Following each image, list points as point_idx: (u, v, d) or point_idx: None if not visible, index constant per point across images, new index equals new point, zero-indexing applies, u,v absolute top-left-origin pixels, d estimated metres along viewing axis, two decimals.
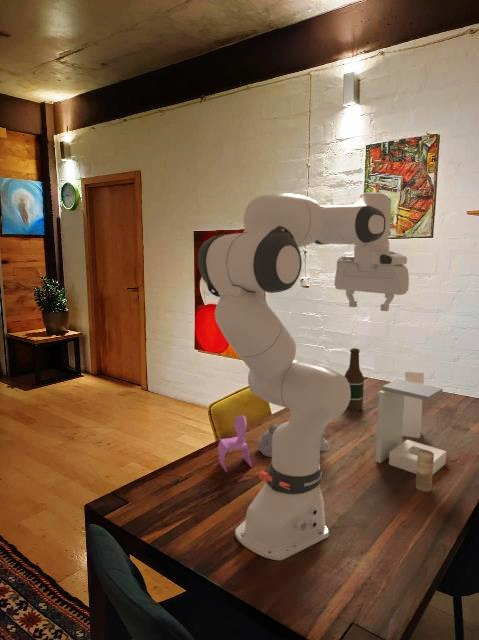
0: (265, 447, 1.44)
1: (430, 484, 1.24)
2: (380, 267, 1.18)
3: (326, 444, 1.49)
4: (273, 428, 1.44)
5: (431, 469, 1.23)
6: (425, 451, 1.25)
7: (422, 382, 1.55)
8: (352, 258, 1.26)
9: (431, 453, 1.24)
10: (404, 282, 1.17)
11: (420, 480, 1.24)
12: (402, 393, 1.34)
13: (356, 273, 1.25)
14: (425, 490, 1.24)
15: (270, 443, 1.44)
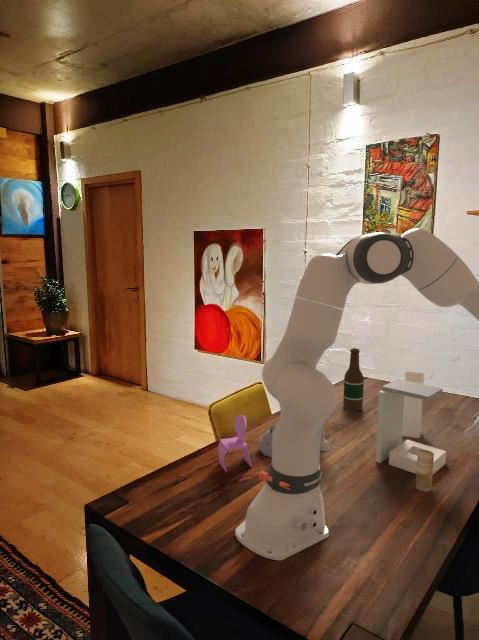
0: (266, 447, 1.44)
1: (430, 484, 1.24)
2: None
3: (326, 444, 1.49)
4: (274, 428, 1.44)
5: (431, 469, 1.23)
6: (425, 451, 1.25)
7: (422, 382, 1.55)
8: None
9: (431, 453, 1.24)
10: None
11: (420, 480, 1.24)
12: (402, 393, 1.34)
13: None
14: (425, 490, 1.24)
15: (271, 443, 1.44)
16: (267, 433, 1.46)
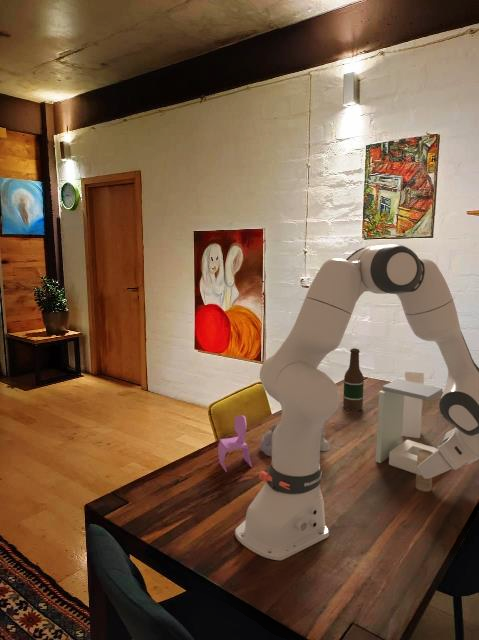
0: (267, 447, 1.44)
1: (430, 484, 1.24)
2: None
3: (326, 444, 1.49)
4: None
5: None
6: (425, 451, 1.25)
7: (422, 382, 1.55)
8: None
9: (431, 453, 1.24)
10: (427, 467, 1.14)
11: (420, 480, 1.24)
12: (402, 393, 1.34)
13: None
14: (425, 490, 1.24)
15: None
16: (269, 433, 1.46)
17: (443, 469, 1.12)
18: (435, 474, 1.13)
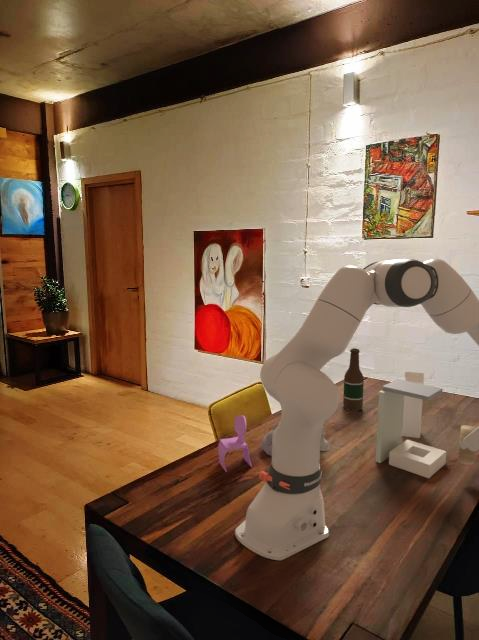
0: (269, 447, 1.44)
1: (473, 458, 1.27)
2: None
3: (326, 444, 1.49)
4: None
5: None
6: (468, 426, 1.28)
7: (422, 382, 1.55)
8: None
9: (474, 428, 1.27)
10: (474, 439, 1.17)
11: (463, 454, 1.27)
12: (402, 393, 1.34)
13: None
14: (468, 464, 1.27)
15: None
16: (270, 433, 1.46)
17: None
18: None
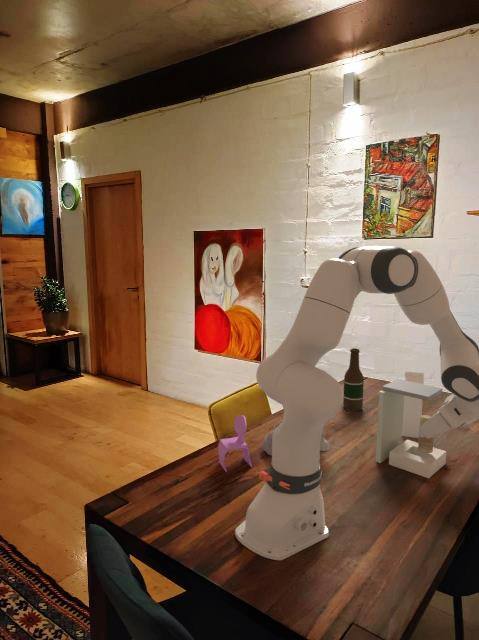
0: (270, 447, 1.44)
1: (431, 446, 1.35)
2: None
3: (326, 444, 1.49)
4: None
5: None
6: (427, 416, 1.36)
7: (422, 382, 1.55)
8: None
9: None
10: (429, 427, 1.25)
11: (422, 442, 1.35)
12: (402, 393, 1.34)
13: None
14: (427, 451, 1.35)
15: None
16: (271, 433, 1.46)
17: (443, 428, 1.23)
18: (436, 433, 1.24)
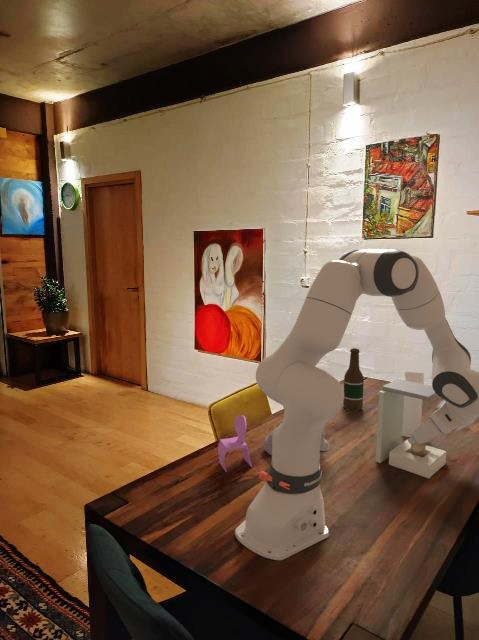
0: (271, 447, 1.44)
1: None
2: None
3: (326, 444, 1.49)
4: None
5: (424, 447, 1.36)
6: None
7: (422, 382, 1.55)
8: None
9: None
10: (420, 432, 1.27)
11: None
12: (402, 393, 1.34)
13: None
14: None
15: None
16: (272, 433, 1.47)
17: (434, 434, 1.25)
18: (427, 439, 1.26)
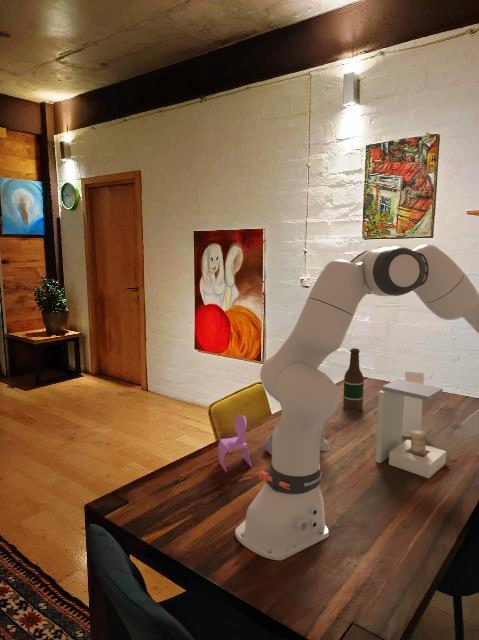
0: None
1: None
2: None
3: (326, 444, 1.49)
4: None
5: (424, 447, 1.36)
6: (418, 431, 1.38)
7: (422, 382, 1.55)
8: None
9: (424, 432, 1.37)
10: (472, 423, 1.15)
11: None
12: (402, 393, 1.34)
13: None
14: None
15: None
16: None
17: None
18: None
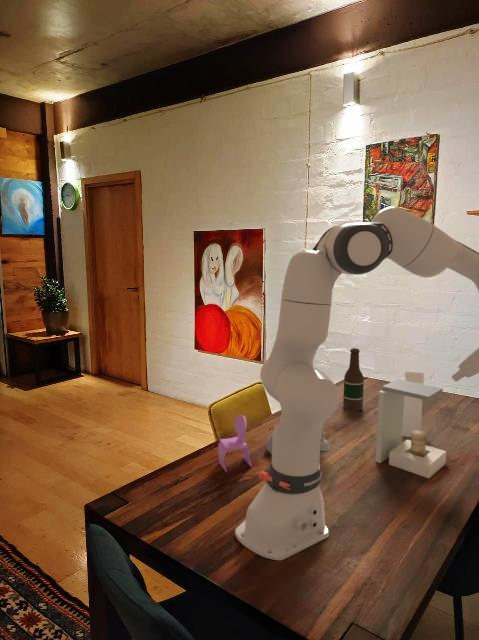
0: None
1: None
2: None
3: (326, 444, 1.49)
4: None
5: (424, 447, 1.36)
6: (418, 431, 1.38)
7: (422, 382, 1.55)
8: None
9: (424, 432, 1.37)
10: (470, 363, 1.10)
11: None
12: (402, 393, 1.34)
13: None
14: None
15: None
16: None
17: None
18: None
